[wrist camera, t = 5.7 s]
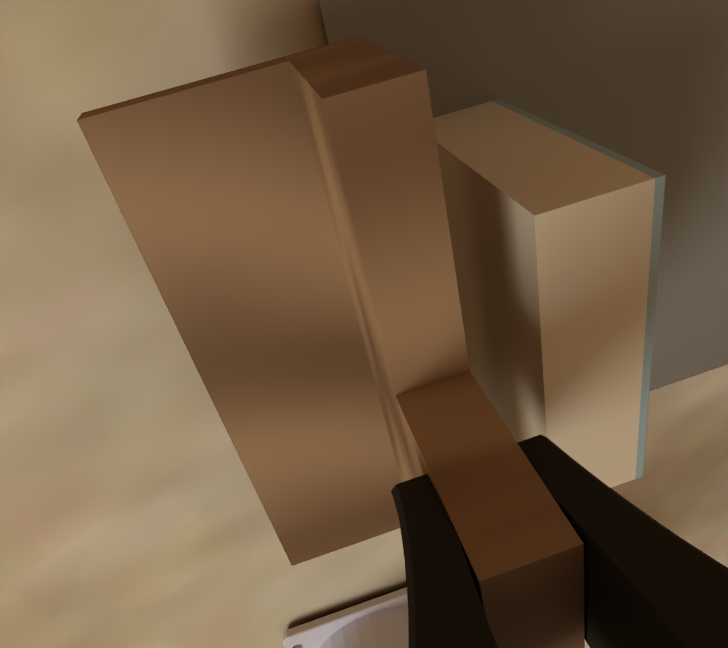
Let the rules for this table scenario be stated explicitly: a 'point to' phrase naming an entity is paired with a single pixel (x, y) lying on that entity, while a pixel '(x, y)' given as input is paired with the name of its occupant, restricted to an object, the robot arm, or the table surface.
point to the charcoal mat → (599, 116)
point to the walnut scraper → (336, 314)
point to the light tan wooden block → (555, 280)
